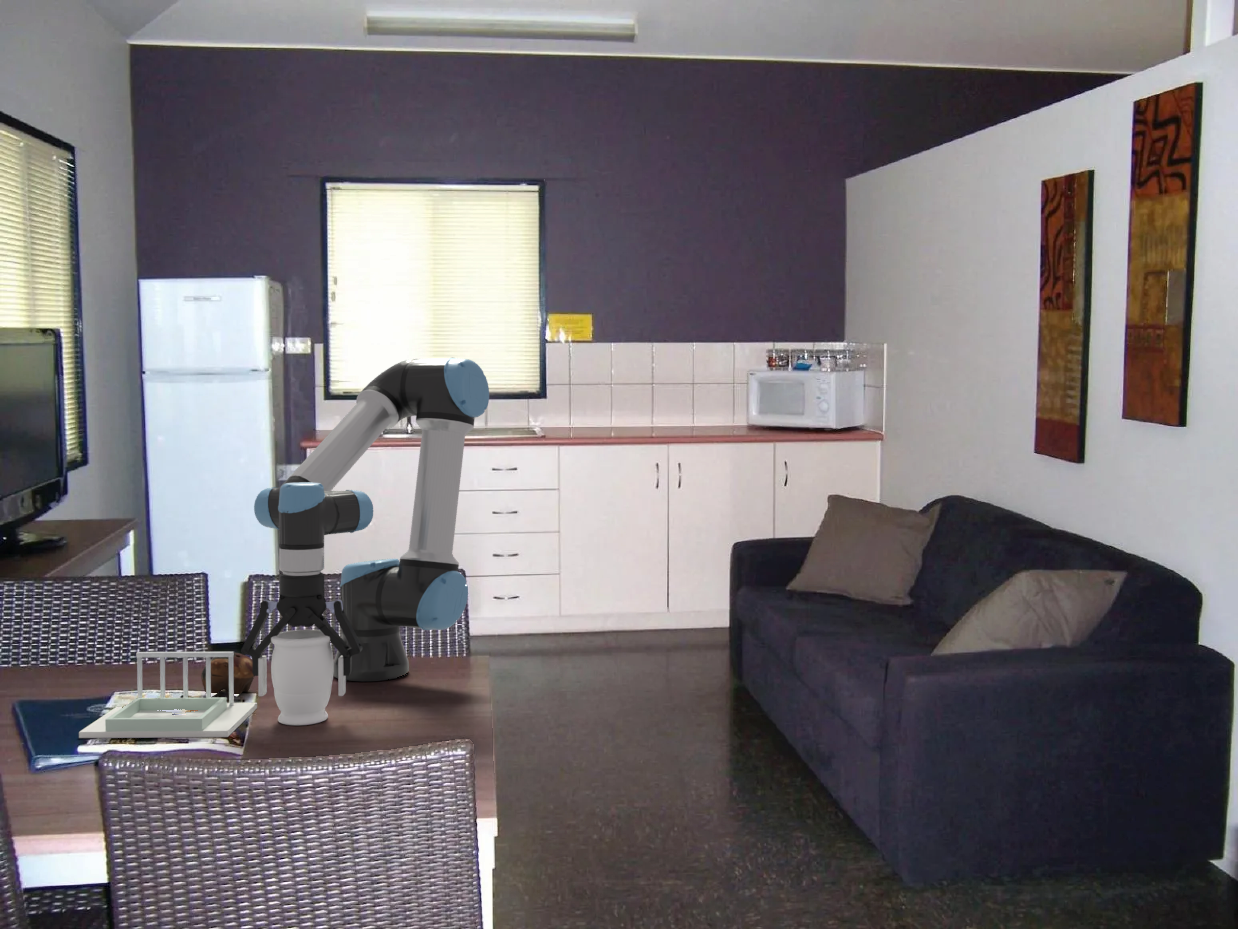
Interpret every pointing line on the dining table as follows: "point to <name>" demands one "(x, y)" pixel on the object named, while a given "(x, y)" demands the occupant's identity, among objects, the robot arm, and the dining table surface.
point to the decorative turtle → (221, 674)
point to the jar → (302, 675)
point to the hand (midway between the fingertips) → (302, 694)
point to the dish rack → (149, 722)
